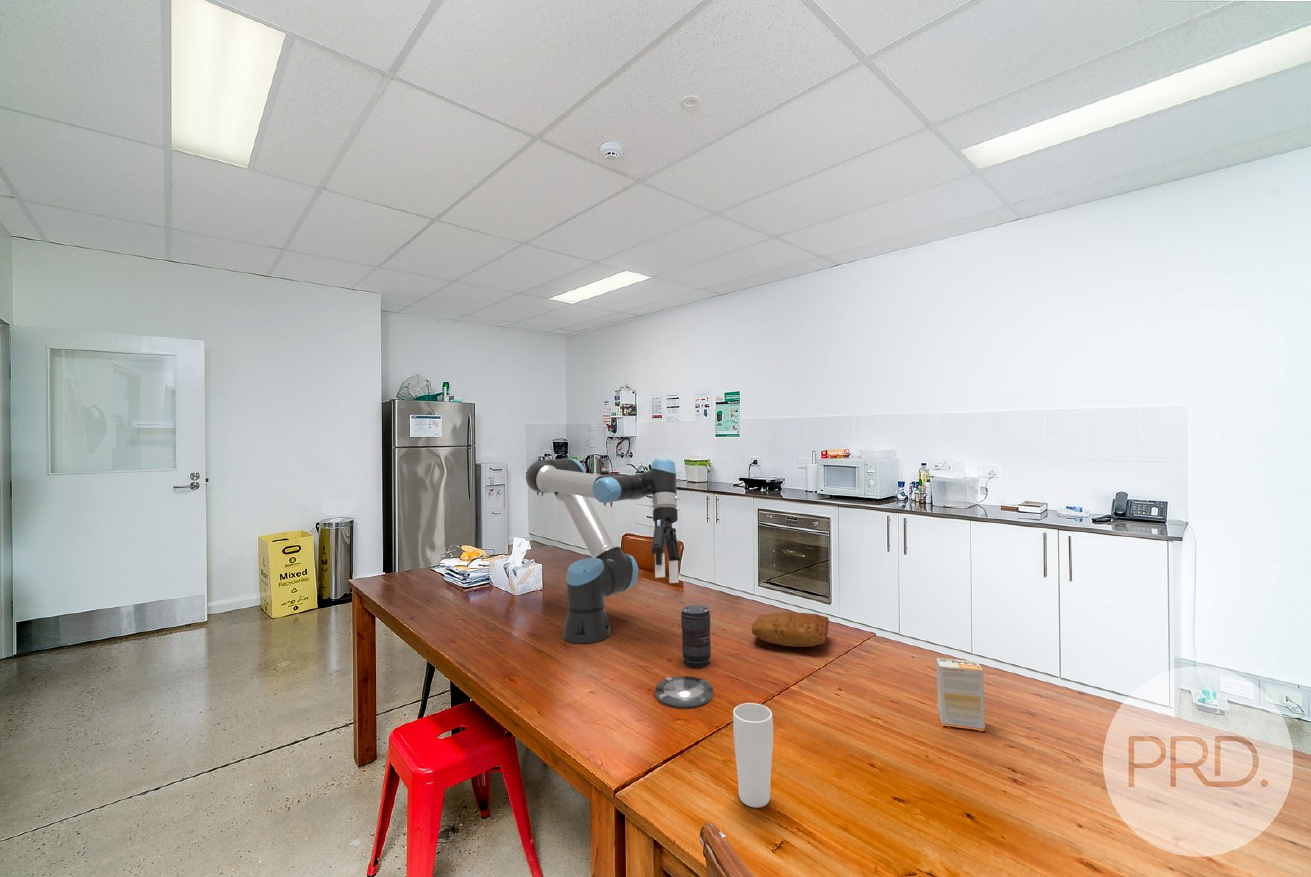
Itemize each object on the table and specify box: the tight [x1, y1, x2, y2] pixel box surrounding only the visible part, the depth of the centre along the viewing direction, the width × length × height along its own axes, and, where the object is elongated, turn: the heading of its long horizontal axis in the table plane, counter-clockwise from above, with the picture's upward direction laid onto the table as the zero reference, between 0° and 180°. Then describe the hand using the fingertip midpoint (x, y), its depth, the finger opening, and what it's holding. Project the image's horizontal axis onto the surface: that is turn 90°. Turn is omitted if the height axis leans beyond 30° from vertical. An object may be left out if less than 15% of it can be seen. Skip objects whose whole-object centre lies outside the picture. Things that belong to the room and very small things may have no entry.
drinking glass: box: [732, 702, 774, 809], centre depth 92 cm, size 7×7×15 cm
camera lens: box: [680, 604, 712, 669], centre depth 148 cm, size 8×8×15 cm
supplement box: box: [935, 657, 986, 731], centre depth 114 cm, size 8×5×13 cm, turn 71°
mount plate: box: [654, 675, 714, 709], centre depth 130 cm, size 14×14×2 cm
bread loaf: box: [751, 611, 830, 648], centre depth 161 cm, size 22×17×8 cm
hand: (667, 580), depth 155 cm, fingers open, 13 cm apart
